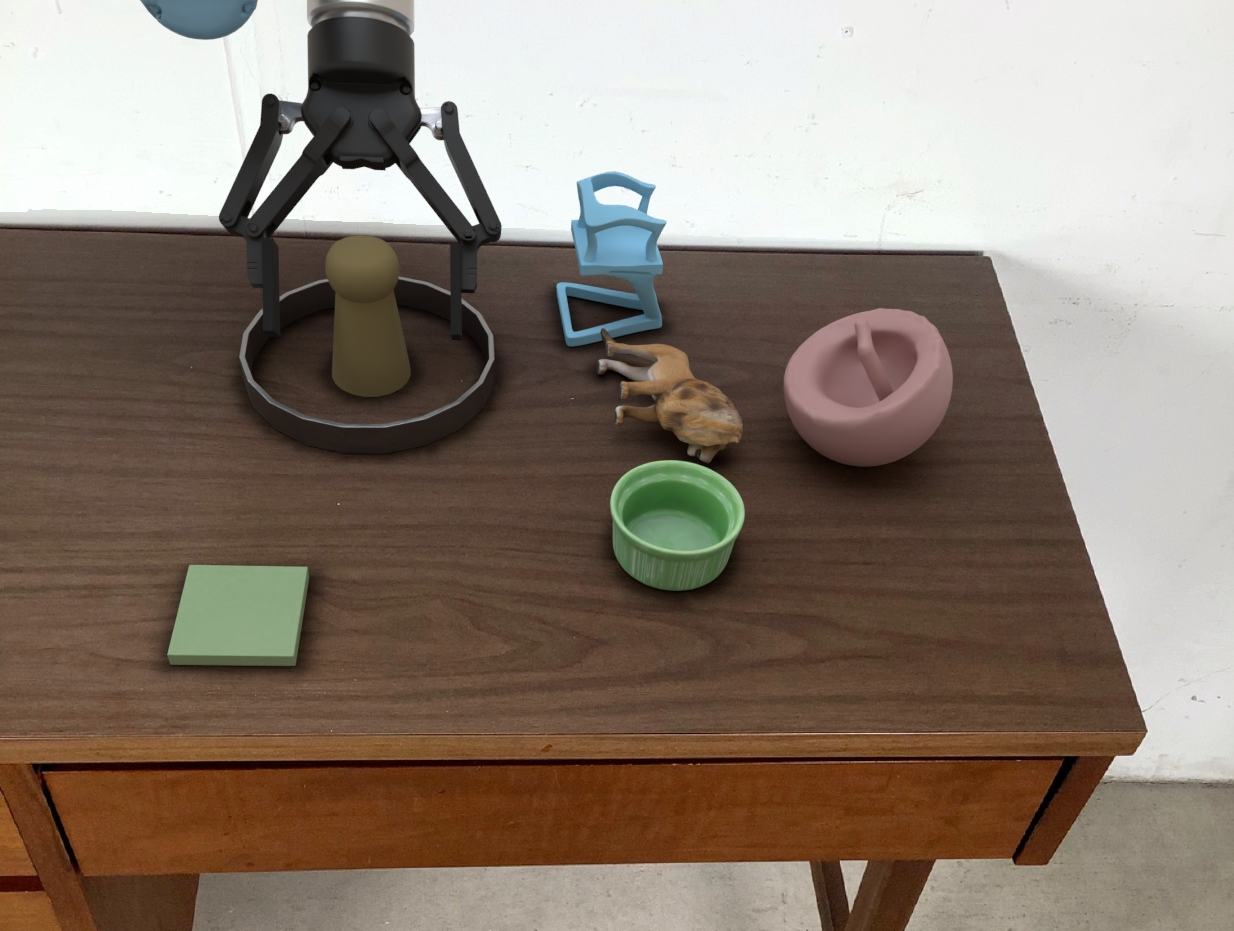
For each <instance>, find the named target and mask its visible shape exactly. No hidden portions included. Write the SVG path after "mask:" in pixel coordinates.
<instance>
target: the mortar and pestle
mask: <svg viewBox="0 0 1234 931" xmlns="http://www.w3.org/2000/svg"><path fill="white" fill-rule="evenodd" d="M953 376H954V374H953V365H952V360H951V357H950V352H949V350H948V348H947V345H946V343H945V341H944V339H943V337H942V336H941V334H940V331H939V329H938V328H937V326H936V325H934V324H933V323H931V322H930V321H929V319H927V317H926V316H924V315H919V314H918V313H916V312H914V311H911V310H904V309H900V308H885V307H880V308H875V309H872V310H865V311H860V312H856V313H853V314H850V315H847V316H845V317H842V318H839V319H837V320H835V321H833V322H831V323H829V324H827V325H825V326H823V327H822V328H821V327H820V329H818V330H817V331H815V332H814V333H813V334H812V335H811V336H809V337H808V338H807V339H806V340H804V342H802V343H801V344H800V345H799V346H798V348H797V349H796V350H795V351H794V353H793V354H792V356H791V357H790V359H789V361H788V362H787V365H786V368H785V371H784V374H783V383H782V384H783V397H784V403H785V408H786V410H787V414H788V415H789V418H790V421H791V423H792V425H793V427H794V428H795V430H796V431H797V433H798V434H799V436H800V437H801V438H802V439H803V441H804V442H806V444H808V446H810V447H811V448H812V449H813V450H814V451H816V452H817V453H819V454H820V455H822V456H823V457H825V458H827V459H829V460H831V461H834V462H837V463H839V464H843V465H847V466H853V467H861V468H862V467H867V468H868V467H878V466H883V465H887V464H890V463H891V464H892V463H894V462H896V461H899V460H902V459H903V458H905V457H908V456H909V455H911V454H913V453H914V452H915V451H916V450H917V449H919V448H921V447H922V446H923V445H924V444H925V443H926V442H927V441H928V440H929V439H930V438H931V436H933V434H934V433H935V432H936V431H937V429H938V428H939V427H940V425H941V423H942V421H943V420H944V418H945V416H946V413H947V411H948V408H949V405H950V402H951V397H952V393H953V384H954V383H953V382H954V377H953Z"/></svg>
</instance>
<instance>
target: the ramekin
mask: <svg viewBox="0 0 1234 931" xmlns="http://www.w3.org/2000/svg"><path fill="white" fill-rule="evenodd" d="M610 495H611V496H610V499H609V500H610V501H609V508H610V509H609V510H610V515H611V519H612V548H613V552H614V555H615V558H616V560H617V562H618V563H619V565H620V566H621V568H622V569H623V570H624V571H625V572H626V573H627V574H628V575H629V576H630V577H632V578H633V579H635V580H637V581H638V582H640V583H642V584H644V585H646V586H648V587H652V588H655V589H659V590H664V591H671V592H672V591H673V592H675V591H677V592H679V591H680V592H681V591H689V590H694V589H698V588H701V587H704V586H706V585H707V584H709V583H711V582H713V581H714V580H716V578H718V577H719V576H720V575H721V574H722V572H723V571H724V569H725V568H726V566H727V564H728V561H729V559H730V556H731V554H732V550H733V548H734V546H735V545H734V544H735V542H736V539H737V538H738V536H739V535H740V533H741V530H742V528H743V526H744V523H745V520H746V519H745V518H746V517H745V516H746V514H745V513H746V510H745V504H744V501H743V498H742V496H741V495H740V493H739V491H738V490H737V489H736V487H735V486H734V485H733V484H732V483H731V482H730V481H729V480H728V479H727V478H725V477H724V476H722V475H721V474H719V473H718V472H717V471H715V470H712V469H710V468H709V467H707V466H704V465H700V464H698V463H693V462H691V461H683V460H670V459H669V460H668V459H667V460H656V461H650V462H646V463H644V464H641V465H638V466H636V467H634V468H632V469H630V470H629V471H627V472H626V473H624V474H623V475H622V476H621V477H620V478H619V479H618V481H617V482H616V484H615V485H614V487H613V489H612V492H611V494H610Z"/></svg>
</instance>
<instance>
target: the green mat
mask: <svg viewBox="0 0 1234 931" xmlns="http://www.w3.org/2000/svg"><path fill="white" fill-rule="evenodd" d="M309 582H310V572H309V567H308V566H285V565H282V566H281V565H280V566H279V565H234V564H233V565H232V564H231V565H229V564H228V565H227V564H226V565H224V564H223V565H221V564H189V565H188V568H187V572H186V577H185V581H184V585H183V589H182V592H181V596H180V601H179V604H178V610H177V614H176V618H175V622H174V624H173V630H172V634H171V637H170V641H169V646H168V650H167V654H166V656H167V658H168V661H169V665H171V666H241V667H242V666H244V667H245V666H246V667H247V666H248V667H249V666H251V667H253V666H255V667H256V666H257V667H296V666H297V659H298V653H299V647H300V640H301V633H302V626H303V621H304V620H303V619H304V615H305V609H306V608H305V607H306V602H307V601H306V600H307V594H308V589H309Z"/></svg>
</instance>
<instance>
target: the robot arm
mask: <svg viewBox="0 0 1234 931" xmlns="http://www.w3.org/2000/svg"><path fill="white" fill-rule="evenodd" d="M139 1H140V3H141V4H142V5H143V7H145V9H146V11H147V12H148V13H149V14H150V15H151V16H152V17H153V18H154V19H155V20H156V21H157V22H158V23H159V24H160V25H162V26H163V27H164V28H166V29H167V30H169V31H170V32H172V33H175V34H177V35H179V36H181V37H183V38H188V39H193V40H200V41H202V40H203V41H208V40H209V41H210V40H217V39H218V40H219V39H221V38H225V37H228V36H231V35H232V34H234V33H236V32H237V31H238V30H239V29H241V28H242V27H243V26H244V25H245V24H246V23H247V22H248V21H249V19H250V18H251V17H252V16H253V13H254V12H255V10H256V9H257V7H258V2H259V0H139ZM306 20H307V23H308V25H309V26H310V29H309V30H308V32H307V35H306V36H307V39H306V40H307V92H306V96H305V98H304V100H303V101H302V102H296V101H288V100H281V99H280V98H278V96H277V95H276V94H274V93H266V94H264V96H262V99H261V106H260V107H261V108H260V121H259V122H260V123H259V127H258V128H257V131H256V133H255V135H254V138H253V140H252V141H251V145H250V147H249V148H248V150H247V152H246V155H245V158H244V159H243V162H242V164H241V166H240V168H239V171H238V172H237V174H236V177H235V179H234V181H233V184H232V185H231V187H230V190H229V192H228V194H227V196H226V199H225V200H224V203H223V205H222V208H221V209H220V212H219V215H218V221H219V223H220V225H221V226H222V227H223V228H224V229H225V230H226V231H227V233H229V234H230V235H234V236H235V235H236V236H238V237H240V238H243V239H245V243H246V278H247V280H248V282H249V284H250V286H251V287H252V288H253V289H262V309H263V331H264V332H265V333H266V334H267V335H268V336H269V337H270V338H281V330H280V296H281V294H280V247H279V245H278V244H277V242H276V240H275V239H274V238H273V237H272V236H273V234H274V233H275V232H276V231H277V230H278V228H279V227H280V226H281V225H282V223H283V222H284V221H285V220H286V218H287V217H288V216H289V215H290V213H291V212H292V211H293V210H294V208H295V207H296V206H297V205H298V203H299V202H300V201H301V200H302V199H303V197H304V196H305V195H306V194H307V193H308V191H309V190H310V189H311V188H312V187H313V185H314V184H315V183H316V181H317V180H318V179H319V178H320V177H321V176H323V175H325V173H327V171H328V170H329V169H330V167H331V166H332V165H333V164H335V165H337V166H338V167H341V169H342V170H356V169H361V168H367V169H370V170H373V171H386V170H387V168H391V167H392V166H394V165H396V166H397V167H398V168H399V170H400V171H401V173H402V174H403V175H404V176H405V177H406V178H407V179H408V180H409V182H410V183H411V184H412V185H413V186H414V188H415V189H416V190H417V192H418V193H419V194H420V195H421V197H422V198H423V200H424V201H425V202H426V203H427V204H428V206H429V207H430V208H431V210H433V212H434V213H435V214H436V216H437V217H438V218H439V220H440V221H441V222H442V223H443V225H444V226H445V227H446V228H447V230H448V231H449V232H450V233H451V235H452V236H453V237H454V239H455V240H456V241H457V242H450V243H449V262H450V263H449V265H450V266H449V268H450V269H449V272H450V273H449V274H450V275H449V277H450V278H449V279H450V282H449V283H450V285H449V286H450V290H449V292H450V297H451V321H450V339H451V341H458V342H459V341H461V342H462V341H463V329H462V299H463V298H462V297H463V296H462V295H463V294H475V293H476V291H477V288H478V251H479V249H480V248H481V247H482V246H484V245H488V244H490V243H496V242H498V241H500V239H501V237H502V228H503V227H502V222H501V220H500V217H499V215H498V214H497V211H496V209H495V206H494V204H493V202H492V200H491V198H490V196H489V194H488V191H487V190H486V187H485V185H484V183H483V180H482V178H481V176H480V174H479V172H478V170H477V167H476V165H475V163H474V161H473V159H472V157H471V154H470V152H469V150H468V147H467V146H466V144H465V141H464V139H463V137H462V134H461V133H460V130H461V129H460V119H459V111H458V110H459V109H458V107H457V106H458V105H457V104H456V103H455V102H453V101H451V100H447V101H444V102H443V103H442V104H441V106H438V107H437V106H436V107H435V106H434V107H420V106H419V104H418V103H417V100H416V73H415V72H416V70H415V69H416V68H415V66H416V65H415V64H416V63H415V57H416V56H415V54H416V53H415V42H414V40H413V38H412V37H411V36H412V34H413V33H414V32H415V0H306ZM301 122H303V123H304V125H305V127H306V128H307V130H309V132H310V134H311V135H312V136H313V137H312V138H311V139H310V141H309V142H307V144H306V145H305V147H304V148H303V150H302V152H301V155H300V156H299V158H298V159H296V161H295V163H293V165H292V166H291V167H290V168H289V170H287V172H286V174H285V175H284V176H283V177H282V179H281V180H280V181H279V182H278V184H276V186H275V187H274V188H273V190H272V191H271V192H270V193H269V194H268V196H267V197H266V198H265V200H264V201H263V202H262V203H261V205H260V206H258V208H257V209H256V210H255V211H254V213H253V214H252V215H251V217H250V218H249V216H250V214H251V211H252V210H253V207H254V205H255V203H256V200H257V198H258V196H259V194H260V192H261V190H262V188H263V186H264V184H265V181H266V179H267V177H268V175H269V172H270V170H271V168H272V166H273V163H274V161H275V160H276V157H277V155H278V154H279V151H280V148H281V147H282V143H283V138H284V135H289V134H291V133H292V132H293V130H294V128H295V125H296V124H298V123H301ZM422 127H424V128H425V127H426V128H427V129H428V130H430V133H431V135H432V137H433V138H434V139H435V140H437V141H443V144H444V148H445V151H446V154H447V156H448V158H449V159H448V160H449V161H450V163H451V165H452V168H453V169H454V172H455V174H456V176H457V178H458V180H459V183H460V185H461V187H462V189H463V192H464V194H465V195H466V198H467V200H468V202H469V205H470V207H471V209H472V211H473V213H474V215H475V218H476V220H477V224H473V225H472V224H471V222H470V221H469V220H468V218H467V217H466V216H465V215H464V214H463V212H462V211H461V209H460V208H459V207H458V206H457V205H456V203H455V201H453V199H452V198H451V197H450V195H449V194H448V193H447V192H446V190H445V189H444V188H443V187H442V185H441V184H440V183H439V182H438V180H437V179H436V178H435V177H434V175H433V174H432V172H431V171H430V170H429V169H428V167H427V166H426V165H425V163H424V162H423V161H422V160H421V157H420V156H419V154H418V153H417V152H416V150H415V149H414V148H413V147H412V145H411V143H412V142H413V140H414V139H415V137H416V136H417V135H418V133H419V132H420V130H421V128H422Z"/></svg>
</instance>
